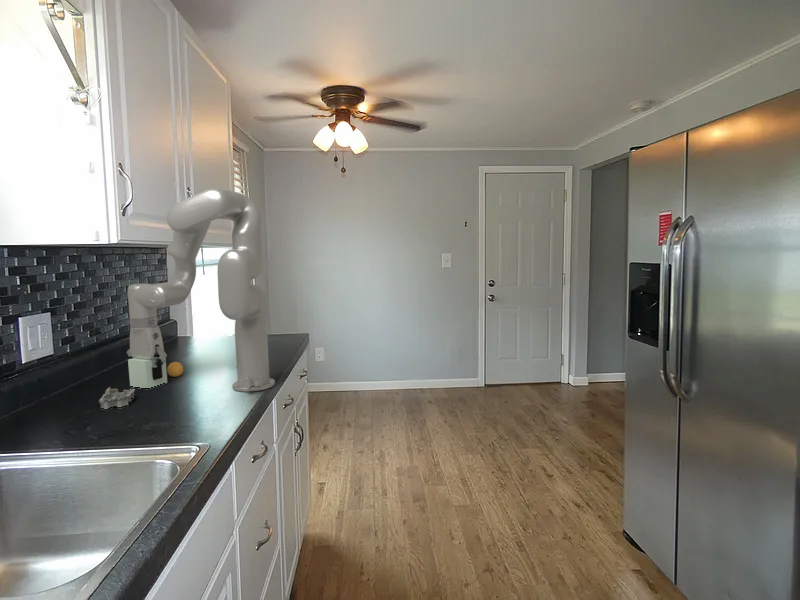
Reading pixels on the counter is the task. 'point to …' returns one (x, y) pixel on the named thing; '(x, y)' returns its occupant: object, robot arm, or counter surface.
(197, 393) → the counter surface
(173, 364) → the ball
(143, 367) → the pale green cube
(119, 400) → the egg carton
